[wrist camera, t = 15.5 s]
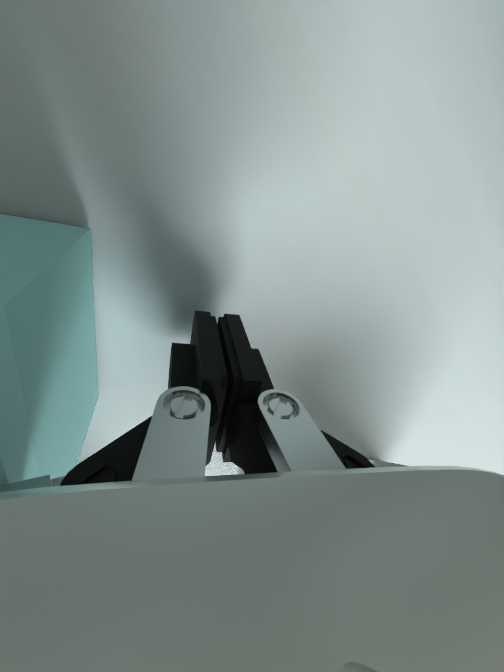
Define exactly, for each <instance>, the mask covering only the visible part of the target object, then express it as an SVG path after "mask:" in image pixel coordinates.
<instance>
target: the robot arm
mask: <svg viewBox="0 0 504 672" xmlns="http://www.w3.org/2000/svg"><path fill="white" fill-rule="evenodd" d="M215 442H216V450H217V452H222V455H223V462H233V463H234V464H236V465H237V466H238V471H237V472H238V475H221V476H205V466H206V465H207V464H208V463H209V462H210V461H211V456H212V452H213V449H214V444H215ZM0 672H504V475H501V474H498V473H495V472H491V471H486V470H481V469H476V468H468V467H458V466H405V465H400V464H394V463H389V462H383V461H378V460H373V461H372V462H370V461H369V460H368V459H367V458H366V457H364V456H363V455H361V454H360V453H358V452H357V451H355V450H353V449H352V448H350V447H348V446H347V445H345V444H343V443H342V442H340V441H338V440H337V439H335V438H333V437H332V436H330V435H328V434H327V433H325V432H323V431H322V430H320V429H319V428H318V426H317V425H316V423H315V422H314V420H313V419H312V417H311V416H310V414H309V413H308V411H307V410H306V408H305V407H304V405H303V404H302V403H301V401H300V400H299V399H298V398H297V397H295V396H294V395H293V394H291V393H289V392H286V391H283V390H279V389H274V387H273V385H272V382H271V380H270V377H269V375H268V372H267V369H266V367H265V364H264V362H263V359H262V357H261V354H260V352H259V350H258V349H253V348H251V346H250V344H249V341H248V338H247V335H246V332H245V330H244V327H243V324H242V321H241V318H240V316H239V315H233V314H224V317H219V318H218V323H216V318H215V316H211V315H210V312H203V311H195V313H194V319H193V327H192V335H191V342H190V344H181V343H172V347H171V357H170V368H169V381H168V390H166V391H165V392H164V393H162V394H161V395H160V397H159V398H158V400H157V403H156V406H155V409H154V412H153V416H151V417H150V418H148V419H146V420H145V421H143V422H142V423H140V424H139V425H137V426H136V427H134V428H133V429H131V430H130V431H128V432H127V433H125V434H124V435H122V436H121V437H119V438H117V439H116V440H114V441H113V442H111V443H110V444H108V445H107V446H105V447H104V448H102V449H101V450H99V451H98V452H96V453H95V454H93V455H91V456H90V457H88V458H87V459H85V460H84V461H82V462H81V463H79V464H78V465H76V466H75V467H74V468H73V469H72V470H70V471H69V472H68V473H67V474H66V476H62V477H58V478H53V479H51V474H50V475H45V476H41V477H36V478H32V479H27V480H23V481H18V482H14V483H9V484H5V485H0Z"/></svg>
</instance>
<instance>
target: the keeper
mask: <svg viewBox="0 0 504 672" xmlns="http://www.w3.org/2000/svg"><path fill="white" fill-rule="evenodd" d="M97 400H98V376H97V355H96V334H95V313H94V292H93V270H92V249H91V229H89V228H83V227H77V226H71V225H65V224H59V223H53V222H47V221H41V220H35V219H29V218H23V217H16V216H10V215H4V214H0V485H5V484H9V483H14V482H18V481H23V480H27V479H32V478H36V477H41V476H45V475H50V474H51V479H53V478H58V477H62V476H66V474H67V473H68V472H69V471H70V470H72V469H73V468H74V467H75V466H76V463H77V460H78V457H79V454H80V451H81V448H82V445H83V442H84V439H85V436H86V433H87V430H88V427H89V424H90V421H91V418H92V415H93V412H94V409H95V406H96V403H97Z"/></svg>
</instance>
